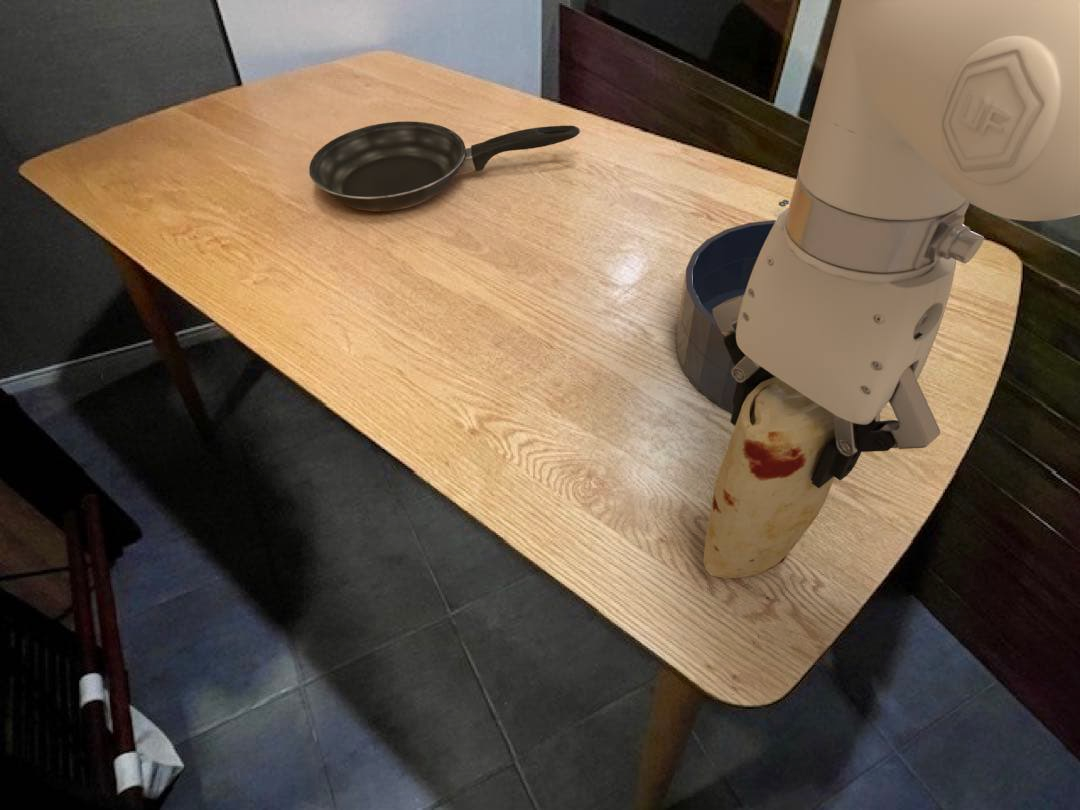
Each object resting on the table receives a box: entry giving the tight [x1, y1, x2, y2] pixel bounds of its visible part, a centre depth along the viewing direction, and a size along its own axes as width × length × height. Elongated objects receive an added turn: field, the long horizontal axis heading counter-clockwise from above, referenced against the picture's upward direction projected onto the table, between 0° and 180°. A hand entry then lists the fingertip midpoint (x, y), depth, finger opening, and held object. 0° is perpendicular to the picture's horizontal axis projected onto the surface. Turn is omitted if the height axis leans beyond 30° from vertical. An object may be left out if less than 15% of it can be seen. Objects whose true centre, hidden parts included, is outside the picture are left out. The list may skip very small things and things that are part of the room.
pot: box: [675, 219, 777, 414], centre depth 72 cm, size 24×24×10 cm
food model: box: [703, 377, 836, 579], centre depth 49 cm, size 10×7×20 cm
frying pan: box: [308, 120, 581, 212], centre depth 104 cm, size 44×25×7 cm, turn 94°
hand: (786, 442), depth 45 cm, fingers closed on food model, 6 cm apart
